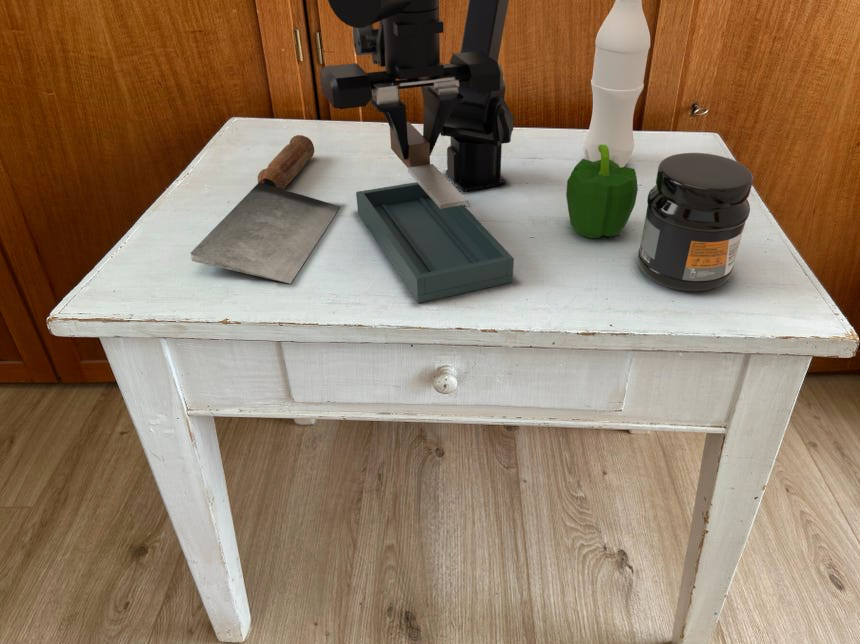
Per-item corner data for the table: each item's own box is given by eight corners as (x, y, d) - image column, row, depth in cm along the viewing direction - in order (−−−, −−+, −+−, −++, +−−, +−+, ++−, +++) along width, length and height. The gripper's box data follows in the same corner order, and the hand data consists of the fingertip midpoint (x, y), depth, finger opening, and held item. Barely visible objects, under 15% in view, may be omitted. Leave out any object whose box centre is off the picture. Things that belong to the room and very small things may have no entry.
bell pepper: (624, 251, 83) (637, 171, 77) (556, 239, 85) (564, 160, 79) (635, 220, 89) (648, 143, 83) (571, 210, 91) (580, 134, 85)
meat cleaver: (291, 283, 76) (286, 250, 73) (191, 274, 77) (182, 242, 74) (369, 163, 102) (367, 136, 100) (293, 157, 103) (289, 130, 101)
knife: (412, 145, 85) (411, 121, 83) (467, 204, 73) (467, 177, 71) (388, 149, 84) (386, 124, 82) (440, 209, 72) (439, 181, 70)
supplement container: (747, 292, 77) (778, 188, 69) (655, 299, 75) (677, 195, 68) (706, 244, 85) (730, 147, 77) (622, 250, 83) (639, 152, 76)
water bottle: (638, 161, 104) (670, -30, 89) (618, 178, 99) (648, -21, 84) (594, 150, 107) (617, -36, 92) (573, 166, 102) (594, -28, 87)
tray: (439, 199, 93) (438, 178, 91) (512, 282, 77) (513, 258, 75) (357, 213, 89) (355, 191, 87) (417, 303, 73) (416, 279, 72)
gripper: (465, -15, 79) (464, 122, 89) (299, -5, 73) (317, 142, 83) (508, 6, 71) (501, 155, 81) (326, 20, 65) (342, 179, 75)
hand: (415, 156), depth 80 cm, fingers closed on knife, 2 cm apart
